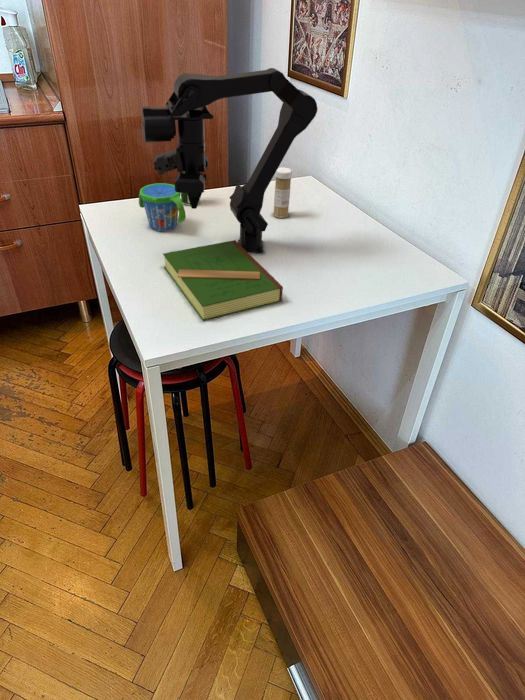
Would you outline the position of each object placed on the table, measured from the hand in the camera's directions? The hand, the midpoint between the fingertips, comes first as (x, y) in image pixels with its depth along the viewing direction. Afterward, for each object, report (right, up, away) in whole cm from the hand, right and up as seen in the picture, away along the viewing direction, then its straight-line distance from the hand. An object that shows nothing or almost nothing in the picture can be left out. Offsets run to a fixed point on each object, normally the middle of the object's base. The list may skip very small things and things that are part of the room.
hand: (194, 208), depth 120 cm
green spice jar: (-6, +10, +32) cm, 34 cm away
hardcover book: (+6, -19, -4) cm, 20 cm away
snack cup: (-11, 0, +19) cm, 22 cm away
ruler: (+7, -17, -8) cm, 20 cm away
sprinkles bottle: (+22, +6, +28) cm, 36 cm away
